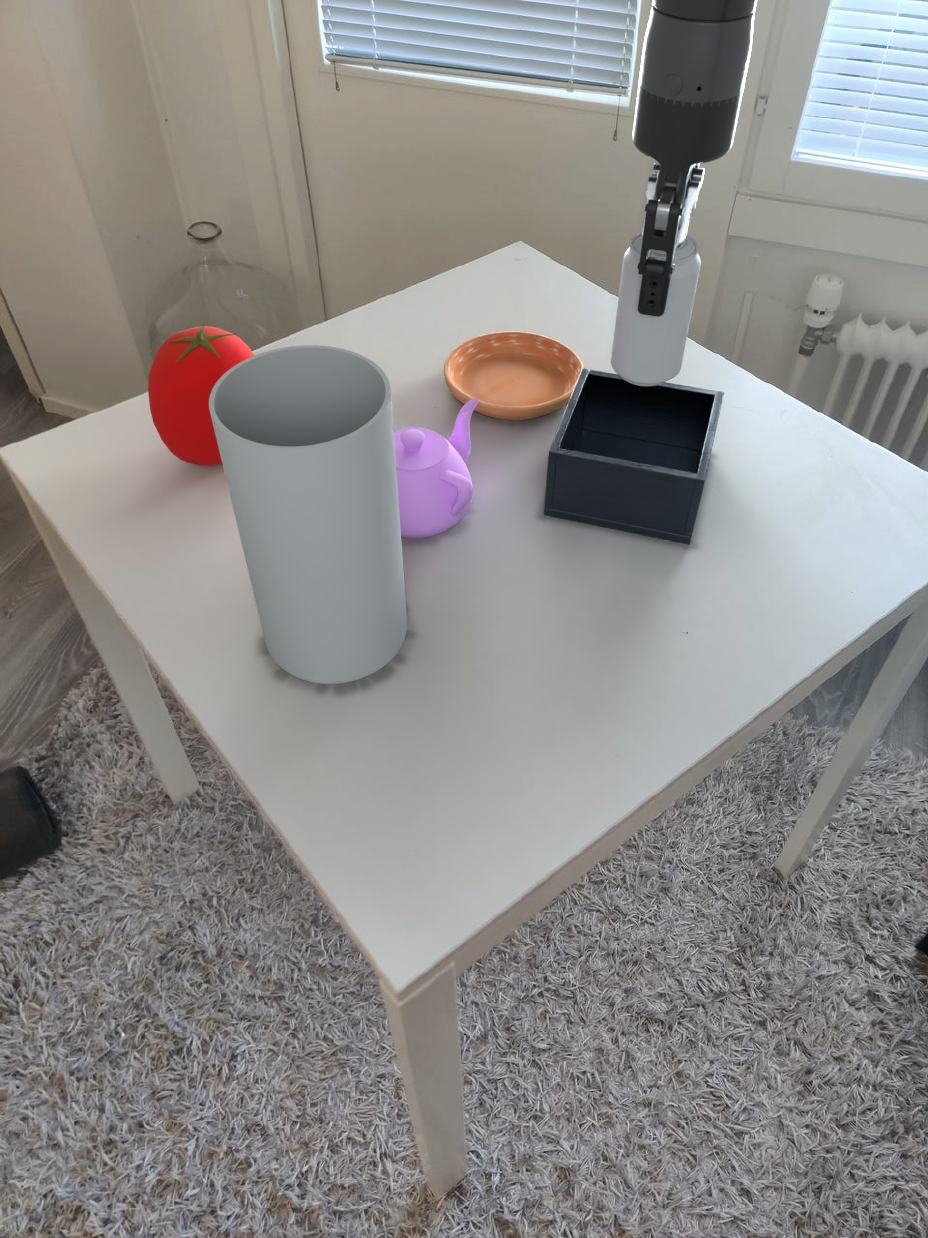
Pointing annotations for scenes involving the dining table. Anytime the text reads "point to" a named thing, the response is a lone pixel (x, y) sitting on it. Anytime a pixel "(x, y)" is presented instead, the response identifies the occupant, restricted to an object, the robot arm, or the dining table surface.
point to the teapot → (433, 477)
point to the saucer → (513, 374)
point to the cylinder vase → (316, 506)
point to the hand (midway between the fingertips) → (657, 292)
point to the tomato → (191, 389)
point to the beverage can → (654, 318)
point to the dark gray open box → (632, 456)
